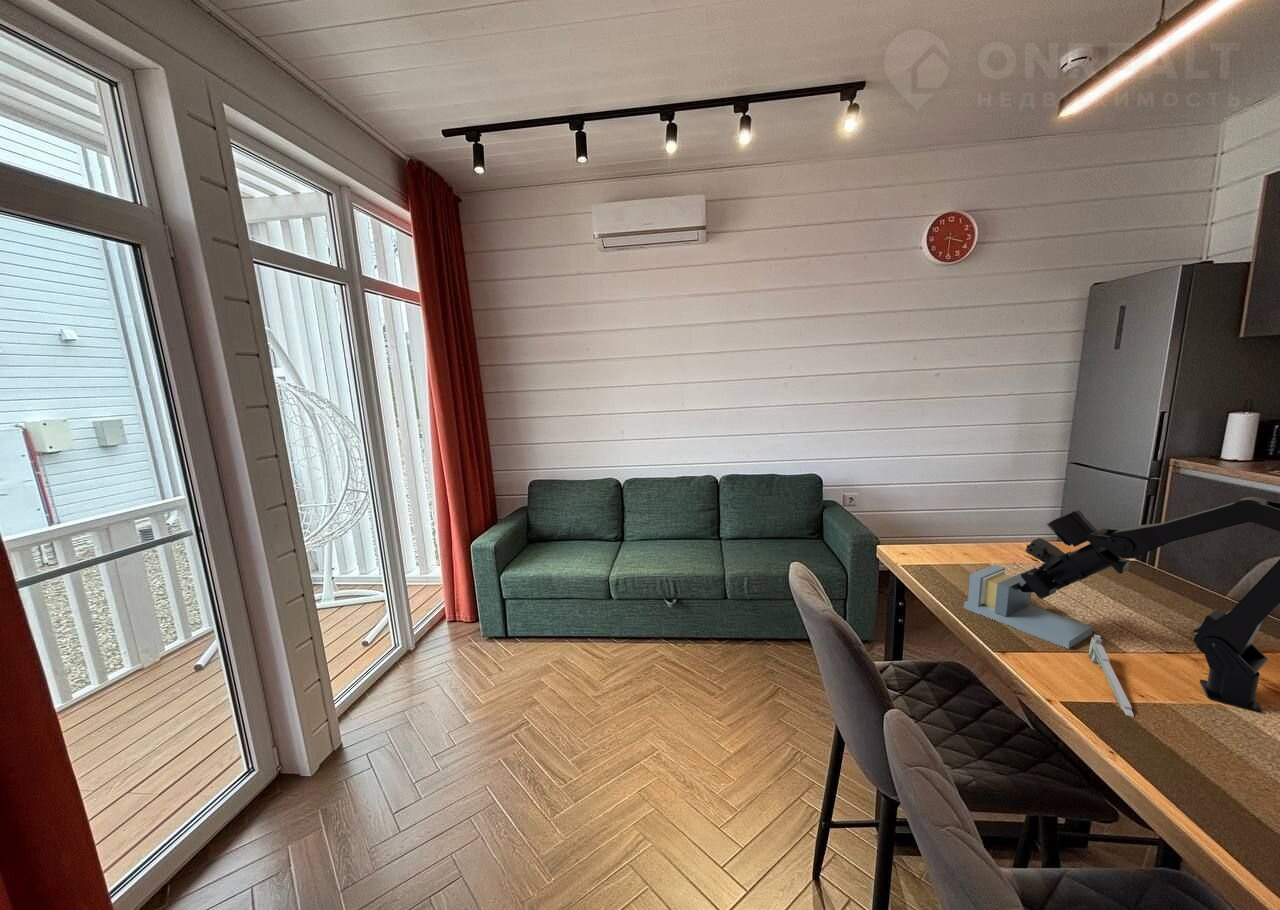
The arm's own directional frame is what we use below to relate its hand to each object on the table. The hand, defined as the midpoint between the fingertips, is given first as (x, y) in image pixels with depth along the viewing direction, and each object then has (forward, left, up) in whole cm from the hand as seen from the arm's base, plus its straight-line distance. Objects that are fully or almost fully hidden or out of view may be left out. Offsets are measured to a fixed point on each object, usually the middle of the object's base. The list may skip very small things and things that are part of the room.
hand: (1021, 590), depth 118 cm
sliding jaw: (+1, +2, -6) cm, 6 cm away
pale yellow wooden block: (+2, +4, -6) cm, 7 cm away
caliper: (-21, -15, -8) cm, 27 cm away
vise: (0, -1, -8) cm, 8 cm away
